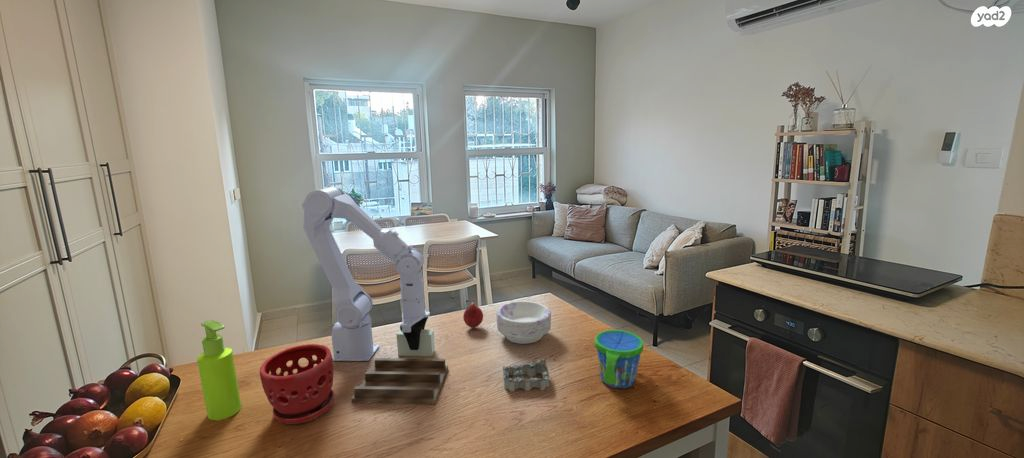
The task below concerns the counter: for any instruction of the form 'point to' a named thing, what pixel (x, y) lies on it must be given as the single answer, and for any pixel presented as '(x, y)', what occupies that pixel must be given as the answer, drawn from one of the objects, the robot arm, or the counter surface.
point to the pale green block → (424, 346)
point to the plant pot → (299, 383)
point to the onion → (473, 316)
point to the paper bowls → (523, 321)
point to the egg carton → (530, 370)
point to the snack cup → (618, 357)
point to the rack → (402, 381)
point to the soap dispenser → (218, 374)
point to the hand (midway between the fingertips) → (416, 346)
